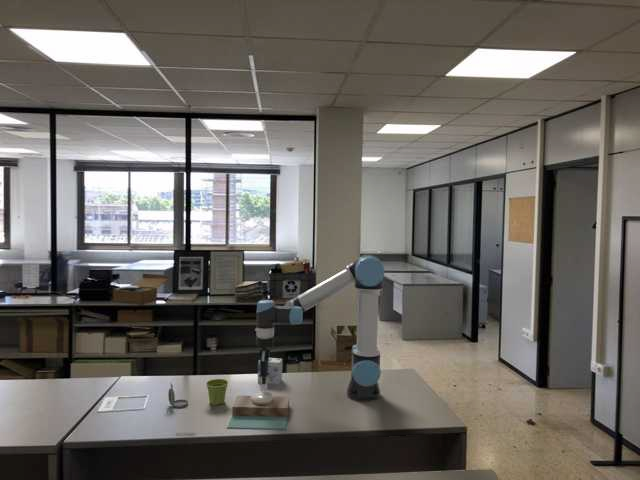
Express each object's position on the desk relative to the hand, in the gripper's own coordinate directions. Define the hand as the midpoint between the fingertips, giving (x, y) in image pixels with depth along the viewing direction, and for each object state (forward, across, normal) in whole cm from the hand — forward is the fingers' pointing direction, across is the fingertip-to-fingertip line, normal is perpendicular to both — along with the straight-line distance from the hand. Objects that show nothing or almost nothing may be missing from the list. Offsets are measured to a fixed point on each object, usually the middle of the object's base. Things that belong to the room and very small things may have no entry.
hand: (264, 390), depth 208 cm
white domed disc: (+1, +7, 0) cm, 8 cm away
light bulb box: (+6, -26, 0) cm, 27 cm away
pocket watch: (+6, +5, -36) cm, 37 cm away
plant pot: (+6, +1, -20) cm, 21 cm away
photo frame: (+6, +5, -58) cm, 59 cm away
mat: (+5, +20, 0) cm, 21 cm away
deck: (+5, +9, 0) cm, 10 cm away
